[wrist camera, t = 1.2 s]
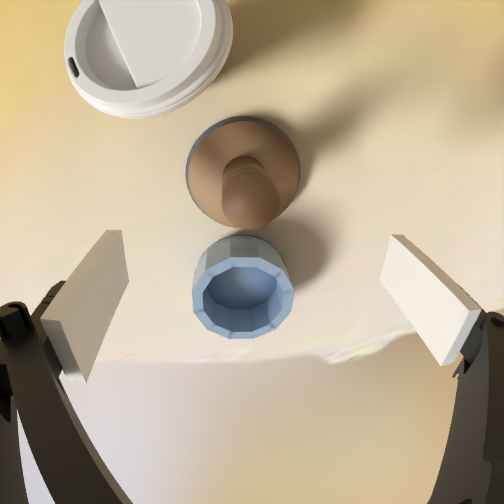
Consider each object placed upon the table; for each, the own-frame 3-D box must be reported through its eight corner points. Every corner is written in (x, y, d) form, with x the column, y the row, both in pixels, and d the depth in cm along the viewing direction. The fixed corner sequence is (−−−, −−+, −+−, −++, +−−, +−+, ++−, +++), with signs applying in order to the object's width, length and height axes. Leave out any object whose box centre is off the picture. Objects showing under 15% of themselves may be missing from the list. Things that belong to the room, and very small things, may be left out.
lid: (226, 101, 26) (226, 97, 17) (316, 159, 29) (351, 182, 21) (171, 192, 29) (150, 227, 21) (258, 240, 32) (270, 289, 24)
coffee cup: (131, 28, 21) (58, -21, 8) (230, 18, 22) (235, -55, 9) (132, 118, 26) (53, 135, 12) (230, 110, 26) (234, 112, 13)
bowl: (225, 218, 31) (225, 238, 27) (301, 261, 34) (312, 286, 30) (181, 288, 35) (176, 315, 30) (253, 322, 38) (257, 350, 33)
